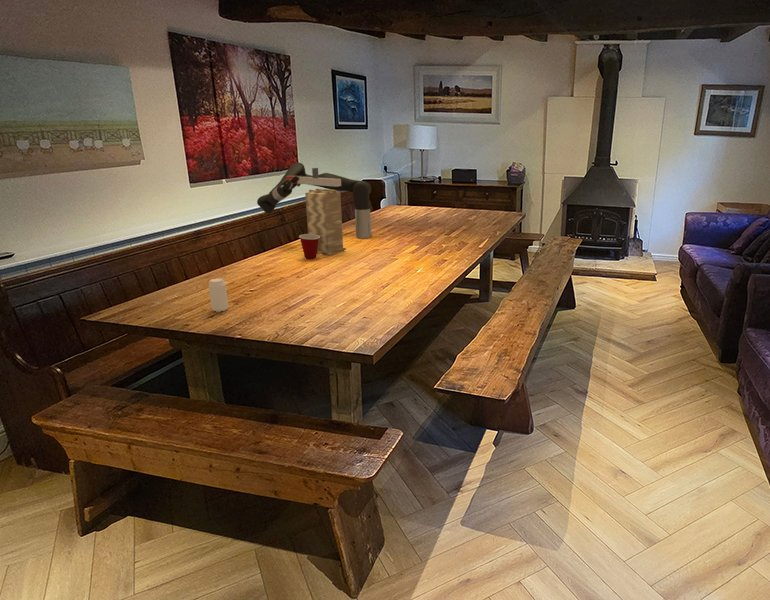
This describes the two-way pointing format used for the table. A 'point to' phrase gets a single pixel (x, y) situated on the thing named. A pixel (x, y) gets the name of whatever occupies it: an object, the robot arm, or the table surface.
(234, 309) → the table surface
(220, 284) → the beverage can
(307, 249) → the plastic cup
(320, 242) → the stand
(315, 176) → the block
